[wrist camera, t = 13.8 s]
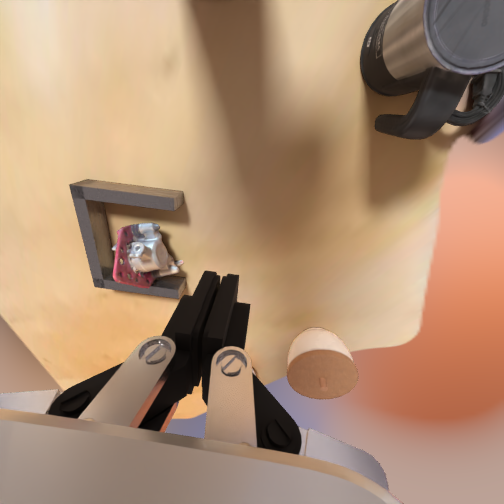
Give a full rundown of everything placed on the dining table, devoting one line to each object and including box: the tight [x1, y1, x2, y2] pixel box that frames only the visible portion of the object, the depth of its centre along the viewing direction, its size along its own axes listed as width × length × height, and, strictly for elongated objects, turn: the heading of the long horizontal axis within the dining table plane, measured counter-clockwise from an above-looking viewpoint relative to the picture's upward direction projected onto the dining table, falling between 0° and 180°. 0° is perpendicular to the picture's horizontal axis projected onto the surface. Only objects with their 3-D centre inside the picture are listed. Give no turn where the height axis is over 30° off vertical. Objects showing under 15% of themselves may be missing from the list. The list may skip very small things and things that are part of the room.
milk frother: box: [360, 0, 504, 139], centre depth 23 cm, size 14×16×15 cm
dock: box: [69, 179, 186, 299], centre depth 43 cm, size 19×16×4 cm
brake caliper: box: [112, 223, 184, 288], centre depth 42 cm, size 11×11×12 cm
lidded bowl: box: [287, 327, 358, 399], centre depth 48 cm, size 13×13×11 cm
